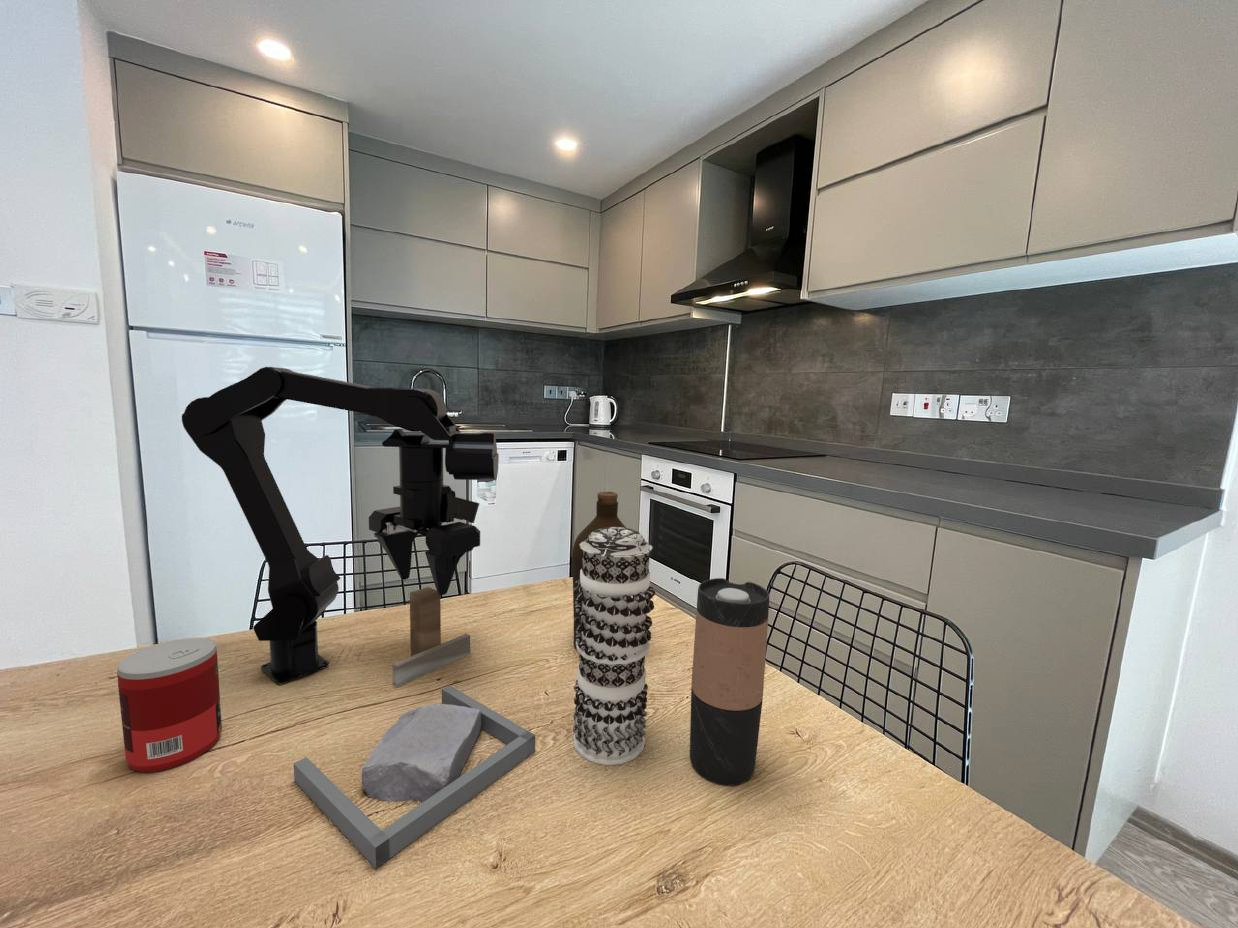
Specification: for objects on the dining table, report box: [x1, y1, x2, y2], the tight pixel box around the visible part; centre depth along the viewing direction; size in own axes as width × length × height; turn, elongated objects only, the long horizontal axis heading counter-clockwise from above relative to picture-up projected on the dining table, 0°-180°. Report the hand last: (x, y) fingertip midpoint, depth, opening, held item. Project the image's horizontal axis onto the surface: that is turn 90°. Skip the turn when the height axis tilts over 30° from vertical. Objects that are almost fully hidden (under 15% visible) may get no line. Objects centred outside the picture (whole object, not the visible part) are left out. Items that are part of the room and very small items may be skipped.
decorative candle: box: [572, 527, 656, 766], centre depth 58 cm, size 9×9×25 cm
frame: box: [293, 684, 536, 869], centre depth 54 cm, size 16×18×2 cm
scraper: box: [392, 586, 471, 688], centre depth 74 cm, size 4×12×11 cm, turn 144°
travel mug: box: [689, 577, 770, 786], centre depth 55 cm, size 8×8×20 cm
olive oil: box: [571, 491, 627, 650], centre depth 81 cm, size 11×11×25 cm
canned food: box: [117, 637, 223, 773], centre depth 55 cm, size 8×8×11 cm
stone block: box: [360, 703, 482, 803], centre depth 55 cm, size 12×5×10 cm
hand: (423, 586), depth 73 cm, fingers open, 9 cm apart
